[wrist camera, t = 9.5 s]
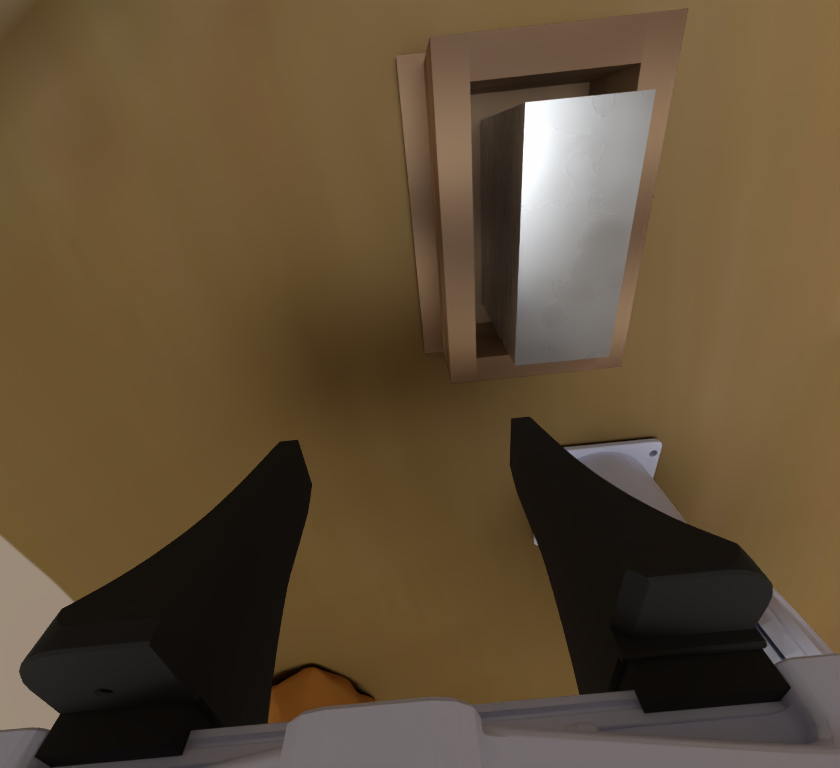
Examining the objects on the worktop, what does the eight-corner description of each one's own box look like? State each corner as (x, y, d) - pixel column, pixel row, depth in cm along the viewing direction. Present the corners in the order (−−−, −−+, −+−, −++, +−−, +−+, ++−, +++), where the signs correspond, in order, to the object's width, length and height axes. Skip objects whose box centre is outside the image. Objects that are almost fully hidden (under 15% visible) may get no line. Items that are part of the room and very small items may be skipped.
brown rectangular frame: (600, 332, 22) (642, 369, 18) (424, 350, 22) (429, 391, 19) (645, 30, 16) (725, -9, 12) (396, 58, 16) (394, 27, 12)
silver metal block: (548, 296, 21) (609, 356, 15) (481, 303, 21) (514, 365, 15) (563, 111, 17) (656, 89, 11) (480, 120, 17) (525, 102, 11)
